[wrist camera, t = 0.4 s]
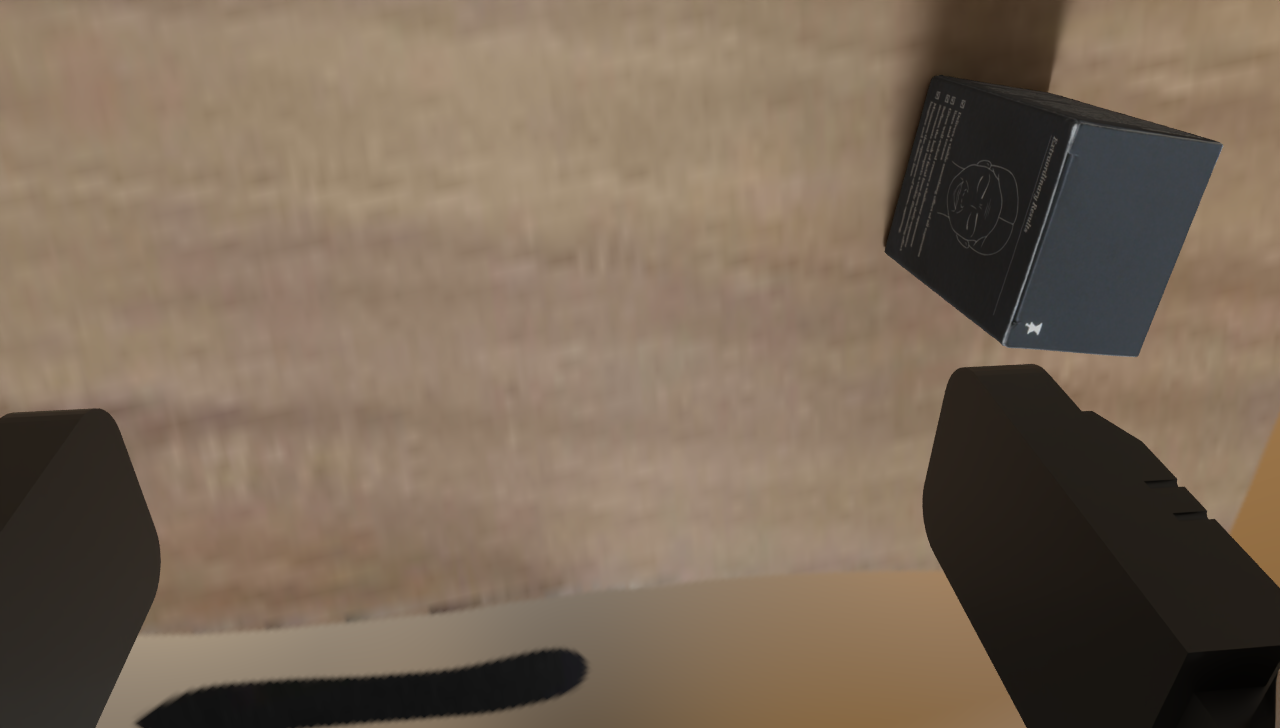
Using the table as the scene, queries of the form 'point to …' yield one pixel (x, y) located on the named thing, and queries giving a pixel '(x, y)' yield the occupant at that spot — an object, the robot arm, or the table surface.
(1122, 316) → the box
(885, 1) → the table surface
